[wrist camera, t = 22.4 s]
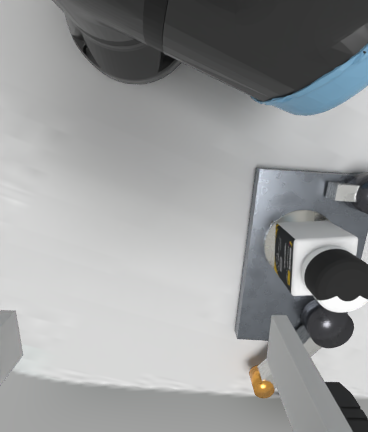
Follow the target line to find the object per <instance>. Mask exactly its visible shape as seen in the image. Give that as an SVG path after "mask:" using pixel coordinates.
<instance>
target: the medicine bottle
mask: <svg viewBox="0 0 368 432" xmlns="http://www.w3.org/2000/svg"><path fill="white" fill-rule="evenodd" d="M357 245H358V238H357V237H356V236H354V235H353V234H351V233H349V232H347V231H345V230H344V229H342V228H340V227H338V226H336V225H334V224H333V223H331V222H329V221H326V220H325V221H305V222H284V223H277V224H276V230H275V259H274V270H275V272H276V273H277V274H278V276H279V277H280V279H281V280H282V282H283V283H284V284H285V286H286V287H287V289H288V290H289V292H290V293H291V294H292V295H293V296H305V295H313V296H314V297H315V299H316V300H317V301H318V302H319V303H320V304H321V306H323V307H324V308H325V309H327V310H329V311H332V312H338V313H343V312H350V311H353V310H356V309H358V308H360V307H361V306H363V305H364V304H365V303H366V302H367V301H368V264H366V263H365V262H364V261H362V260H361V259H359V258H358V257H356V253H357Z"/></svg>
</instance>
